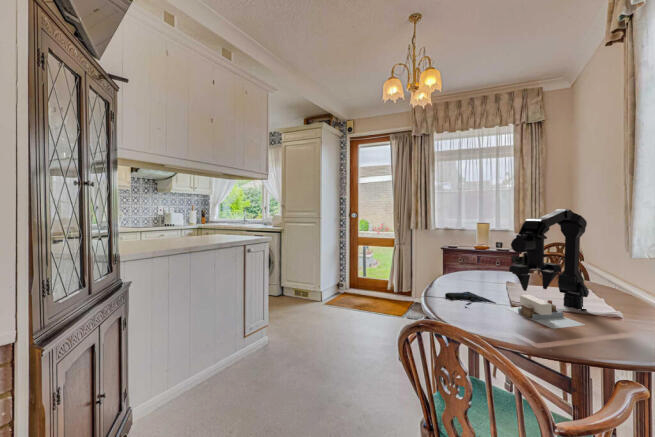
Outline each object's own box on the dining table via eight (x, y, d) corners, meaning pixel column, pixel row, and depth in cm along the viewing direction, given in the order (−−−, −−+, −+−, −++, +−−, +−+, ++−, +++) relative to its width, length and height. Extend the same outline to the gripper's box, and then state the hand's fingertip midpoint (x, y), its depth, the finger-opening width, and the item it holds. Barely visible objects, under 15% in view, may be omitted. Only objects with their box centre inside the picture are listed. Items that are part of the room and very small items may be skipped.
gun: (479, 316, 126) (506, 311, 131) (479, 309, 126) (506, 304, 130) (441, 298, 148) (465, 294, 153) (441, 292, 148) (465, 289, 153)
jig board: (533, 308, 130) (533, 301, 130) (585, 328, 108) (585, 319, 108) (505, 310, 128) (505, 303, 128) (553, 331, 106) (553, 323, 106)
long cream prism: (529, 304, 125) (529, 294, 124) (551, 314, 113) (551, 304, 112) (520, 304, 124) (520, 295, 124) (541, 314, 112) (541, 304, 112)
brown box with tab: (546, 312, 122) (546, 298, 122) (555, 315, 118) (556, 301, 118) (521, 314, 120) (521, 301, 120) (529, 318, 116) (529, 304, 116)
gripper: (537, 247, 127) (537, 283, 128) (499, 249, 124) (499, 286, 124) (562, 250, 116) (562, 290, 117) (520, 253, 113) (520, 293, 113)
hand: (534, 289), depth 118 cm, fingers open, 9 cm apart
